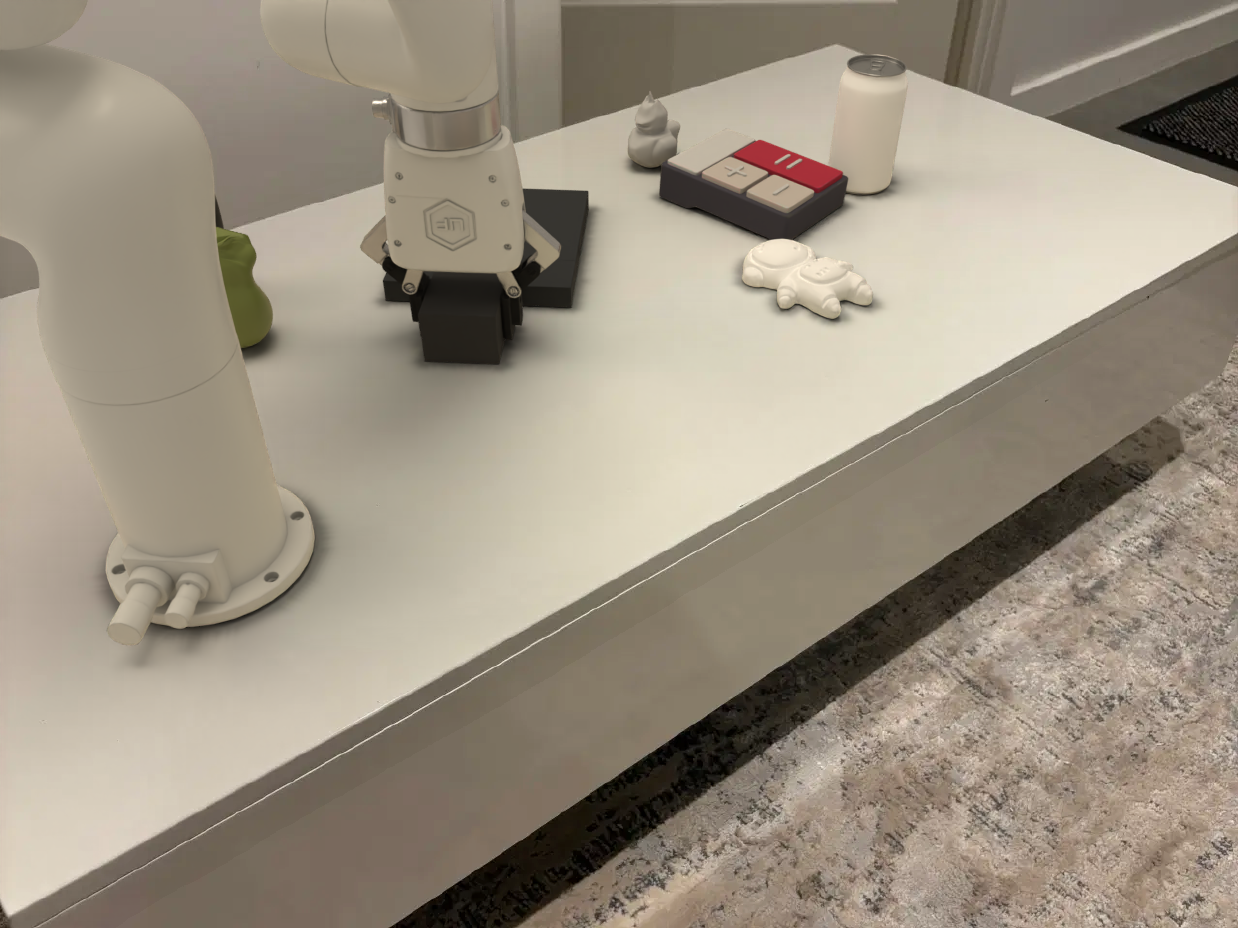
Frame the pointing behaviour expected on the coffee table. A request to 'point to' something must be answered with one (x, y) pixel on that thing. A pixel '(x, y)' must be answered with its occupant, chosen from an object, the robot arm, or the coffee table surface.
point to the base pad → (561, 220)
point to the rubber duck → (653, 134)
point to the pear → (243, 287)
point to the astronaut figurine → (804, 277)
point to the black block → (462, 318)
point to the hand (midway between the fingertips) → (469, 327)
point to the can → (868, 121)
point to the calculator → (753, 184)
